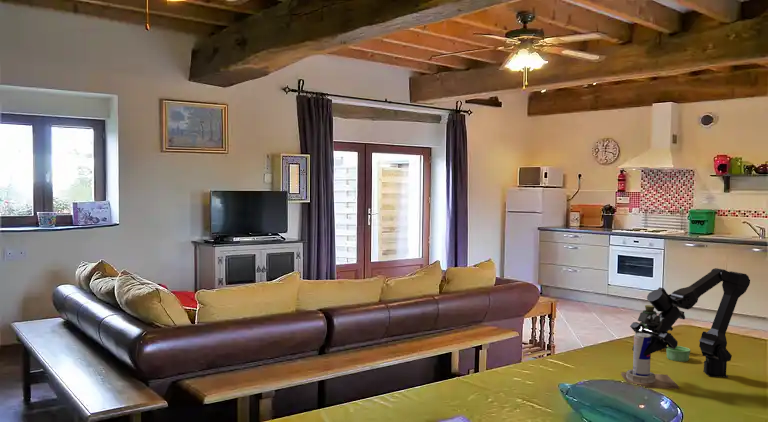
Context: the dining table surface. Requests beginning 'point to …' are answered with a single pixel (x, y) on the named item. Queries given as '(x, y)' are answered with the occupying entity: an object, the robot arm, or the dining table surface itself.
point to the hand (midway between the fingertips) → (638, 352)
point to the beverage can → (641, 355)
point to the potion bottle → (648, 311)
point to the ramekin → (678, 353)
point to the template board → (657, 383)
